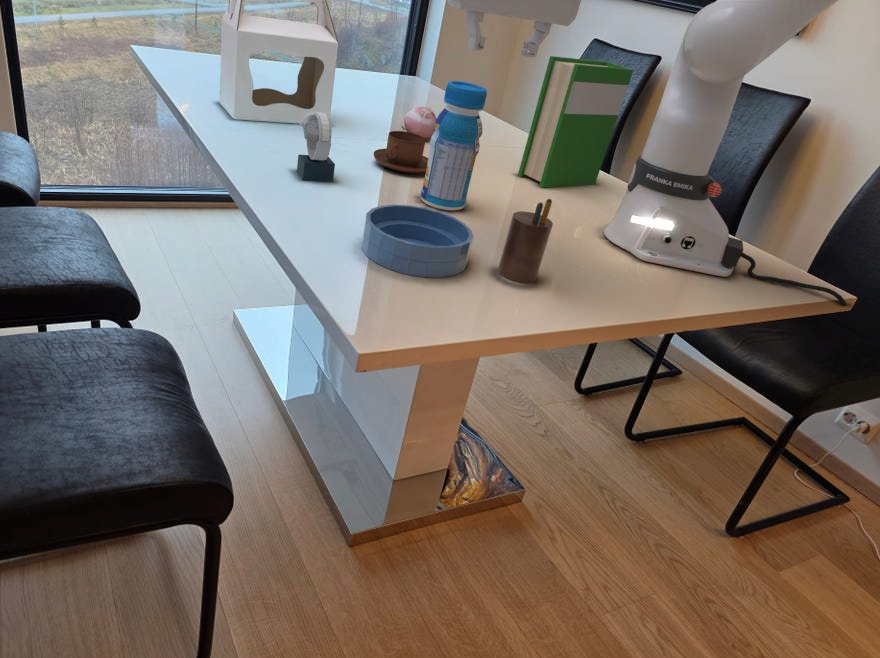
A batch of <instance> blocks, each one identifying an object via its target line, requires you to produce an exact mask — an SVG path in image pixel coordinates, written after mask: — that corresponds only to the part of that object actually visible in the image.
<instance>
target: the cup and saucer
mask: <svg viewBox="0 0 880 658" xmlns="http://www.w3.org/2000/svg"><path fill="white" fill-rule="evenodd" d="M387 135H388V136H387V144H386V148H379V149H376V150H374V151H373V158H374V159H375V160H376V162H377V163H379V164H380V165H381V166H383V167H385V168H388V169H391V170H393V171H397V172H400V173H409V174H419V173H424V172H425V173H426V169H427V164H428V158H429V157H427V156H424V150H425V145H426V141H427V139H425V138H424V137H422V136H420V135H417V134H414V133H410V132H407V131H405V130H403V131H401V130H391V131H389V132H388V134H387Z"/></svg>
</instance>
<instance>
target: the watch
mask: <svg viewBox="0 0 880 658" xmlns="http://www.w3.org/2000/svg"><path fill="white" fill-rule="evenodd" d="M299 126H300V127H302V130H303V136H304V139H305V141H306V150H307V154H298V155H297V164H296V173H297V174H298V176H299V177H300V178H301V180H302V181H313V182H314V181H315V182H334V175H335V169H336V163H335V162H334V161H333V160H332V159H331V158H330V157H329V156H330V151H331V148H332V143H331V142H332V134H333V133H332V131H333V130H332V120H331V115H330V116H329V114H327V113H322V112H311V113H309V114H307V115H306V116H305V117H304V118H303V120H302V121H301V122H300V124H299Z"/></svg>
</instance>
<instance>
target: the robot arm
mask: <svg viewBox="0 0 880 658" xmlns="http://www.w3.org/2000/svg"><path fill="white" fill-rule="evenodd" d="M446 1H447V4H448V5H449V6H450V7H453V8H455V9H458V10H459V9H460V10H464V11H466V14H465V23H466V26H467V30H468V34H469V36H468V41H467V48H468V49H469V50H472V51H479V52H480V51H481V52H482V51H483V50H484V48H485V45H484V44H485V43H486V39H487V37H486V36H484V35H483V36H482V34H481V26H480V23H483V22H484V18H485V14H489V15H495V16H501V17H508V18H512V19H513V18H514V19H520V20H526V21H532V22H533V21H534V23H533V30H534V31H533V33H532V35H531V37H530V38H529V39H528V41H526V40H525V41H523V43H522V49H521V54H520V55H522V56H524V57H526V58H536V57H537V56H538V51H539V47H540V46H541V44H542V43H543V42H544V41H545V39H546V38H547V37H548V35H549V34H550V32H551V28H552V25H558V26H565V27H569V26H570V25H571V24H572V23H574V21H575V19H576V18H577V15H578V13H579V10H580V6H581V3H582V0H446ZM838 1H839V0H716V1H714V2H711V3H710V4H707V5H706V6H704V7H702V9H700V10H699V11H698V12H697V13H695V15H694V16H693V17H692V18H691V20H689V23H688V24H687V26H686V29H685V31H684V34H683V37H682V39H681V43H680V45H679V48H678V51H677V53H676V57H675V59H674V62H673V65H672V68H671V71H670V74H669V77H668V80H667V82H666V85H665V88H664V91H663V94H662V97H661V100H660V103H659V106H658V109H657V111H656V114H655V117H654V120H653V123H652V125H651V128H650V131H649V133H648V136H647V139H646V141H645V144H644V147H643V150H642V153H641V155H639V156H637V158H636V162H635V163H634V165H633V167H632V170H631V173H630V176H629V178H628V182H627V186H626V189H627V190H626V192H625V194H624V197H623V199H622V200H621V203H620V204H619V206H618V208H617V210H616V212H615V214H614V215H613V217H612V219H611V220H610V222H609V223H608V224H607V226H606V227H605V229H604V230H603V234H604V236H605V238H606V239H608V240H609V241H610V242H612V243H613V244H614V245H616V246H618V247H619V248H621V249H624V250H625V251H627V252H629V253H631V254H632V255H633V256H635V257H636V258H637V259H639V260H641V261H643V262H648V263H653V264H658V265H663V266H667V267H672V268H678V269H682V270H687V271H692V272H697V273H702V274H708V275H713V276H717V277H721V278H722V277H723V278H726V277H729V276H731V275H732V274H733V270H734V268H736V267H737V265H738V263H739V260H740V258H743V259H745V260H746V261H748V262H749V263H750V266H749V267H748V268H747V270H746V271H747V275H748V276H749V277H750V278H752V279H756V280H759V281H768V282H774V283H779V284H785V285H790V286H795V287H798V288H803V289H808V290H814V291H818V292H819V291H820V292H824V293H827V294H829V295H831V296H833V297H834V298H836V299H837V301H838V302H839V303H840V305H841V306H844V307H848V304H847V301H846V300H845V298H844V297H843V296H842V295H841V294H840V293H838V292H837V291H836V290H834V289H831V288H828V287H825V286H820V285H814V284H809V283H803V282H799V281H795V280H792V279H785V278H780V277H775V276H770V275H769V276H768V275H758V274H756V273H754V272H753V271H754V270H755V268H756V266H757V263H756V260H755V259H754V258H753V257H752V256H750V255H749V254H747V253H745V252H744V241H743V240H741V239H737V238H734V237H731V236H730V233H729V228H728V225H727V224H726V222H725V220H724V219H723V217H722V215H720V213H719V212H718V210H717V208H716V207H715V205H714V204H713V202H712V201H711V200H710V198H717V197H718V196H720V195H721V194H722V191H723V189H722V187H721V185H720V183H719V182H716V180H715V179H714V178H713V177H712V176H711V175H710V174H709V171H710V169H711V166H712V164H713V161H714V159H715V156H716V154H717V152H718V150H719V147H720V144H721V142H722V140H723V137H724V135H725V133H726V130H727V128H728V126H729V122H730V118H731V116H732V112H733V109H734V106H735V104H736V100H737V97H738V95H739V92H740V89H741V87H742V83H743V81H744V79H745V75H747V74H749V73H750V72H751V71H752V70H754V69H755V68H756V67H757V66H759V65H760V64H761V63H763V62H764V61H765V60H766V59H768V58H769V57H770V56H772V54H774V53H775V52H776V51H778V50H779V49H780V48H781V47H782V46H784V45H785V44H786V43H787V42H789V41H790V40H791V39H793V38H794V37H795V36H796V35H797V34H798V33H800V31H802V30H803V29H804V28H805V27H807V26H808V25H809V24H810V23H811V22H812V21H814V20H815V19H816V18H817V17H819V16H820V15H821V14H822V13H824V12H825V11H826V10H827V9H829V8H830V7H832V6H833V5H834V4H836V3H837V2H838ZM744 503H745V502H744V501H743V500H739V501H738V505H739V506H743V505H744Z"/></svg>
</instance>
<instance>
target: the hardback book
mask: <svg viewBox="0 0 880 658" xmlns="http://www.w3.org/2000/svg"><path fill="white" fill-rule="evenodd" d="M633 73H634V69H632V68H628V67H625V66H621V65H619V64H615V63H612V62H609V61H603V60H596V59H595V60H594V59H583V58H576V57H575V58H574V57H565V56H553V55H549V59H548V62H547V66H546V70H545V74H544V77H543V81H542V85H541V89H540V93H539V96H538V99H537V104H536V106H535V110H534V115H533V118H532V122H531V125H530V129H529V133H528V136H527V139H526V143H525V148H524V151H523V155H522V158H521V162H520V165H519V169H518V172H517V176H518V177H520V178H524V177H525V178H526V177H529V178H531V179H533V180H536V181H537V182H539V185H538V186H539V187H540V188H542V189H543V188H556V187H571V186H586V185H595V184H596V183H597V180H598V177H599V174H600V171H601V168H602V165H603V162H604V159H605V156H606V153H607V150H608V147H609V145H610V142H611V139H612V135H613V133H614V130H615V126H616V123H617V121H618V118H619V115H620V112H621V108H622V106H623V103H624V99H625V96H626V95H627V91H628V88H629V85H630V82H631V79H632V76H633Z"/></svg>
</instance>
